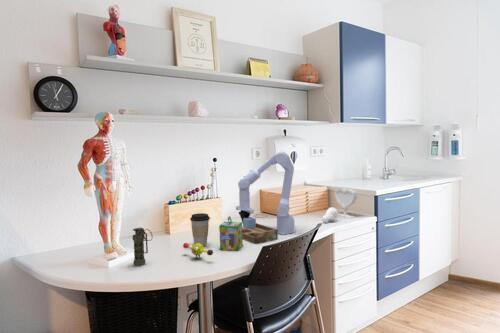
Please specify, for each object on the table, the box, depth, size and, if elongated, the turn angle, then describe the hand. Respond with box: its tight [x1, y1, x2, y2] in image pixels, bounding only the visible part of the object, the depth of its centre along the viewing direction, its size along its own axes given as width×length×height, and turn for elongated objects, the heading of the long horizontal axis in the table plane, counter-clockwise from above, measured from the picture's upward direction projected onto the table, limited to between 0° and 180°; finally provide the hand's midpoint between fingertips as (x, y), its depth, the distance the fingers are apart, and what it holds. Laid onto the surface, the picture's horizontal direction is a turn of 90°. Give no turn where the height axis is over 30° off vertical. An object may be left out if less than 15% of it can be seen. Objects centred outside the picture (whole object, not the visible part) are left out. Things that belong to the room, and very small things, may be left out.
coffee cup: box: [189, 212, 211, 248], centre depth 166 cm, size 9×9×15 cm
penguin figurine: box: [321, 206, 339, 224], centre depth 210 cm, size 6×8×12 cm
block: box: [242, 216, 257, 229], centre depth 188 cm, size 5×5×5 cm
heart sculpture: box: [334, 187, 358, 219], centre depth 227 cm, size 16×5×18 cm, turn 34°
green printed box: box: [218, 215, 243, 251], centre depth 162 cm, size 9×9×15 cm
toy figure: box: [182, 242, 214, 260], centre depth 147 cm, size 18×6×7 cm, turn 50°
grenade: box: [132, 227, 153, 267], centre depth 141 cm, size 9×6×15 cm, turn 132°
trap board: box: [242, 222, 279, 245], centre depth 180 cm, size 14×22×5 cm, turn 36°
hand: (244, 224), depth 191 cm, fingers closed
